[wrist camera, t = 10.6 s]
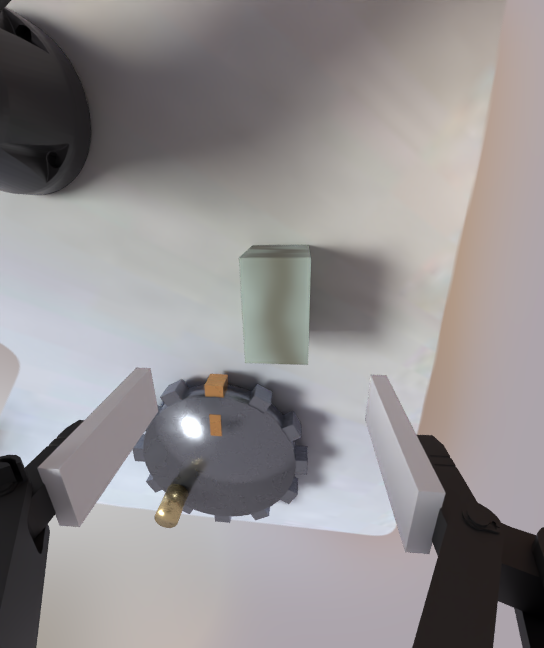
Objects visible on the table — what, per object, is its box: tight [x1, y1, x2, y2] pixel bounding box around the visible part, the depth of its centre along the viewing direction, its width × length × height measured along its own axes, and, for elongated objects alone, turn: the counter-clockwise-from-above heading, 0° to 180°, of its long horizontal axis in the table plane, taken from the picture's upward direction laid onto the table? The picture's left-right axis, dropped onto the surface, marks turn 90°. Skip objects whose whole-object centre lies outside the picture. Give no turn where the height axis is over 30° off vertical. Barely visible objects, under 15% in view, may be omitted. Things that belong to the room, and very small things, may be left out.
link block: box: [239, 245, 311, 365], centre depth 31 cm, size 6×10×8 cm, turn 1°
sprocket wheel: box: [133, 374, 308, 528], centre depth 39 cm, size 23×23×7 cm
